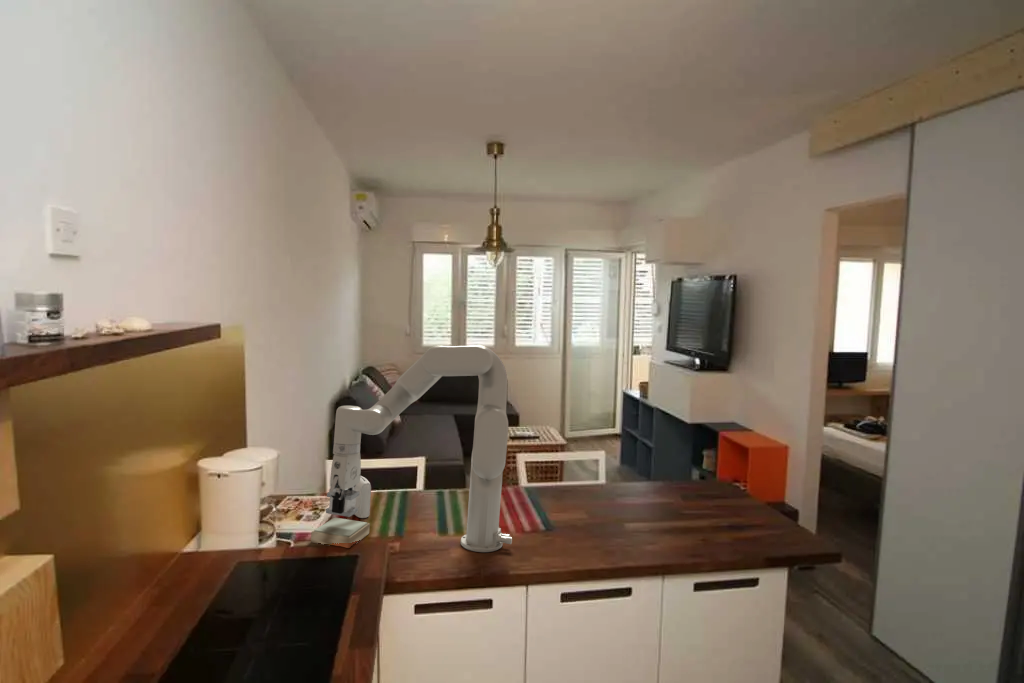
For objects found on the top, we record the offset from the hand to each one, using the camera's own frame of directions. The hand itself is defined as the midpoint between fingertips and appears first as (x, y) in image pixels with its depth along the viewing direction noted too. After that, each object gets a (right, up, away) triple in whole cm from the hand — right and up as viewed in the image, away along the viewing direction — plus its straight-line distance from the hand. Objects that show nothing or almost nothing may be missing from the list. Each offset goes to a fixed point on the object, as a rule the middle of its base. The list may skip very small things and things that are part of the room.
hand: (342, 508), depth 156 cm
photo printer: (-1, -8, +21) cm, 22 cm away
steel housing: (0, -1, 0) cm, 1 cm away
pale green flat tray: (0, -9, 0) cm, 9 cm away
